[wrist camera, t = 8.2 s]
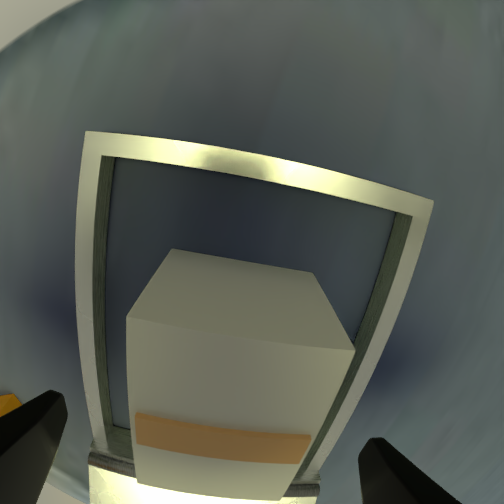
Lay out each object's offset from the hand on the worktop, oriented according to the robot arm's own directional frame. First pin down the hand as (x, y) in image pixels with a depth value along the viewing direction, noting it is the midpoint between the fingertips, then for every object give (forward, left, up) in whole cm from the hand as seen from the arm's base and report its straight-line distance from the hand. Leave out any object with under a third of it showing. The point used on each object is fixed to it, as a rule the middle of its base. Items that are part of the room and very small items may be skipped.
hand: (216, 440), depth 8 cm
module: (0, 0, -5) cm, 5 cm away
